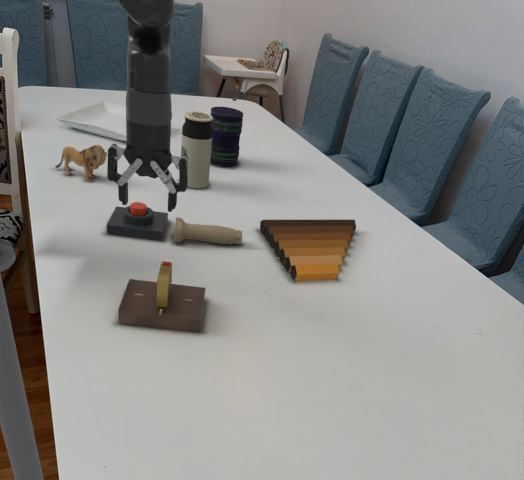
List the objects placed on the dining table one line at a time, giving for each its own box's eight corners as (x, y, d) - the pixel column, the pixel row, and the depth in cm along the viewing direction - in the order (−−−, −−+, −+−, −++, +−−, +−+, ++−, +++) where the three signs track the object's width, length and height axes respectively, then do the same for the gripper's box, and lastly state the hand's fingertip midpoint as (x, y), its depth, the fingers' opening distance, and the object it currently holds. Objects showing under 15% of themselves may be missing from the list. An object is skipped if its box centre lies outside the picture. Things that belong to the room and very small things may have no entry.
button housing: (107, 234, 109) (106, 217, 107) (116, 215, 117) (115, 198, 115) (162, 240, 111) (162, 224, 108) (167, 221, 118) (168, 205, 116)
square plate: (103, 111, 179) (102, 99, 176) (172, 129, 175) (173, 117, 172) (56, 128, 158) (55, 115, 156) (133, 148, 154) (133, 135, 151)
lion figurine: (111, 178, 133) (109, 144, 128) (101, 185, 129) (99, 149, 124) (60, 166, 135) (56, 131, 129) (49, 172, 130) (45, 137, 125)
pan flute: (348, 228, 131) (259, 229, 123) (351, 216, 129) (261, 216, 120) (395, 278, 113) (295, 283, 105) (400, 265, 111) (298, 269, 103)
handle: (240, 253, 113) (174, 246, 110) (238, 240, 118) (174, 232, 114) (244, 234, 110) (176, 225, 107) (241, 221, 115) (176, 213, 111)
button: (128, 215, 110) (128, 207, 109) (131, 208, 113) (131, 201, 112) (145, 217, 110) (145, 209, 109) (147, 210, 113) (147, 203, 112)
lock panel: (118, 324, 85) (118, 309, 83) (129, 292, 93) (129, 277, 91) (200, 332, 87) (201, 318, 85) (204, 300, 95) (205, 286, 93)
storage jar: (223, 170, 151) (230, 106, 140) (200, 159, 155) (204, 97, 144) (244, 164, 158) (251, 103, 146) (220, 154, 161) (226, 94, 150)
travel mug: (205, 178, 143) (210, 112, 132) (210, 189, 137) (216, 121, 126) (178, 177, 141) (180, 109, 130) (181, 188, 135) (185, 118, 124)
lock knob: (167, 307, 86) (168, 279, 82) (156, 306, 86) (157, 278, 82) (171, 289, 91) (172, 261, 87) (161, 288, 90) (162, 260, 87)
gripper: (100, 115, 81) (104, 209, 91) (187, 129, 82) (182, 220, 92) (111, 104, 87) (114, 193, 97) (193, 117, 88) (187, 204, 98)
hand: (147, 206), depth 95 cm, fingers open, 8 cm apart
